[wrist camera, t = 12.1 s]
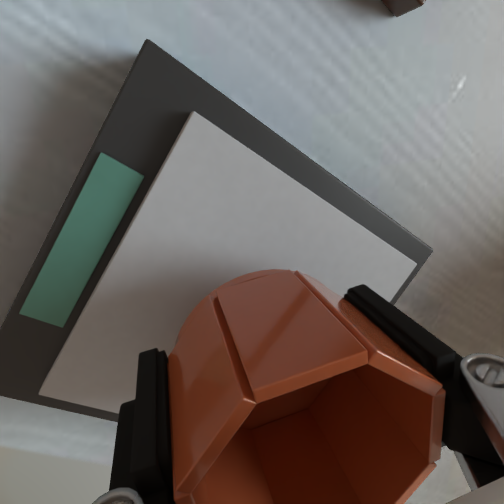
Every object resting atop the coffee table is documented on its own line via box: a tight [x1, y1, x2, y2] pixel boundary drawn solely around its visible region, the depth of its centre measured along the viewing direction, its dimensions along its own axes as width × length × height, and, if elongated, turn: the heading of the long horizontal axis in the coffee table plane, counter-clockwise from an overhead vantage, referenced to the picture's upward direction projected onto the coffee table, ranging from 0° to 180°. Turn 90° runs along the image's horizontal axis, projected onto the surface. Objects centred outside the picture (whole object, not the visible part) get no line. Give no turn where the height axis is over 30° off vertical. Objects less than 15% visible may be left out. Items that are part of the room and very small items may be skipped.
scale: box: [0, 39, 433, 422], centre depth 14 cm, size 14×13×3 cm
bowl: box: [167, 269, 446, 504], centre depth 9 cm, size 6×6×4 cm
